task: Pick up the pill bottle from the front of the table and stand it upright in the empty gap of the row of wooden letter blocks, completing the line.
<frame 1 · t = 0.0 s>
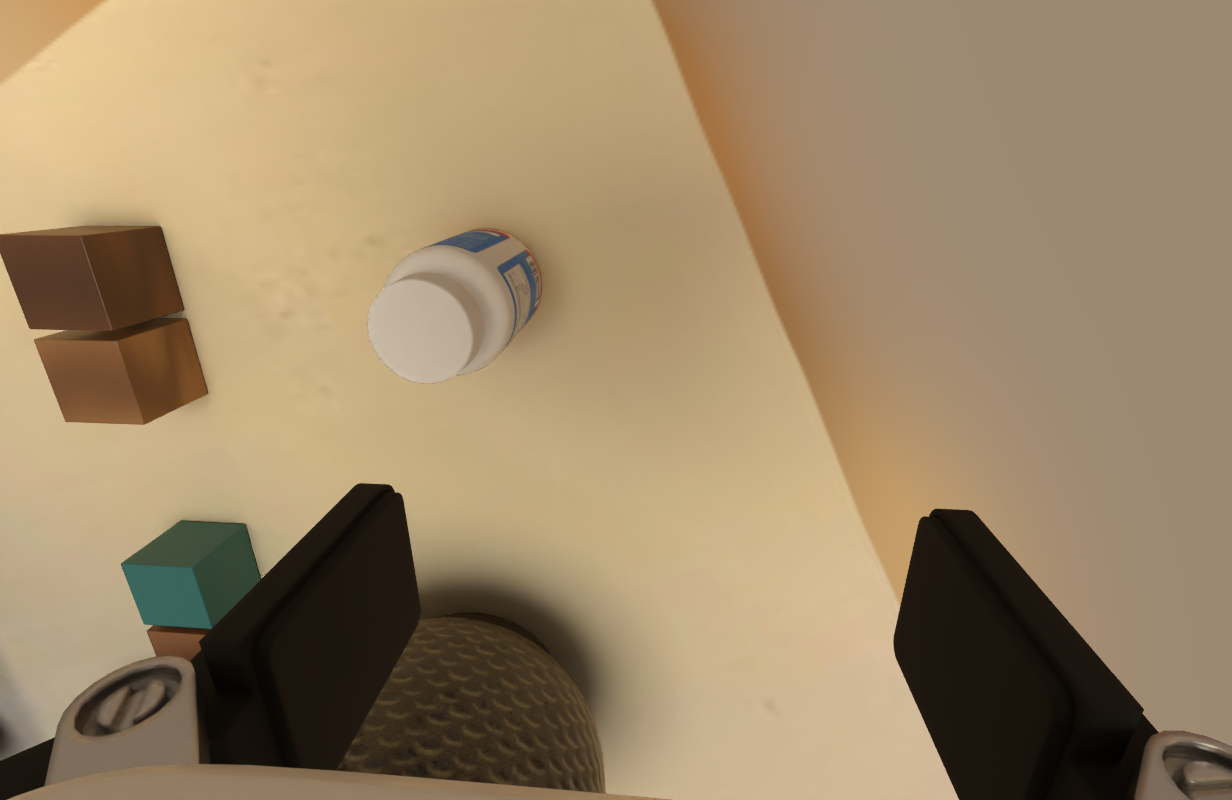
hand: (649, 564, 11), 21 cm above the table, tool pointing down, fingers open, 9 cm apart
block c: (221, 551, 39), on the table
block b: (161, 356, 34), on the table
block a: (134, 268, 32), on the table
planter: (484, 669, 41), on the table
pill bottle: (494, 281, 31), on the table
block d: (240, 610, 41), on the table
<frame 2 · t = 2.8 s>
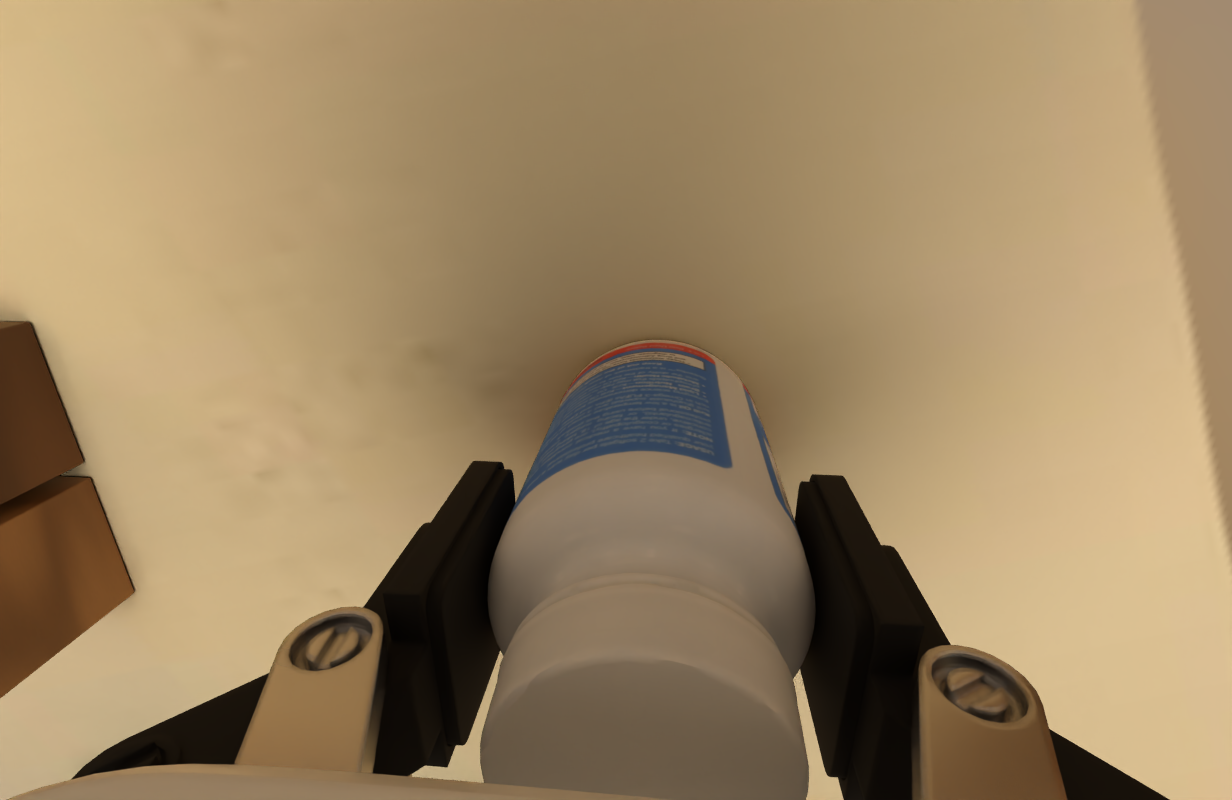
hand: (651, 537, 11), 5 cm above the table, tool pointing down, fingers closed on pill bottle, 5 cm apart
block b: (51, 533, 19), on the table
pill bottle: (658, 428, 16), on the table, touching gripper
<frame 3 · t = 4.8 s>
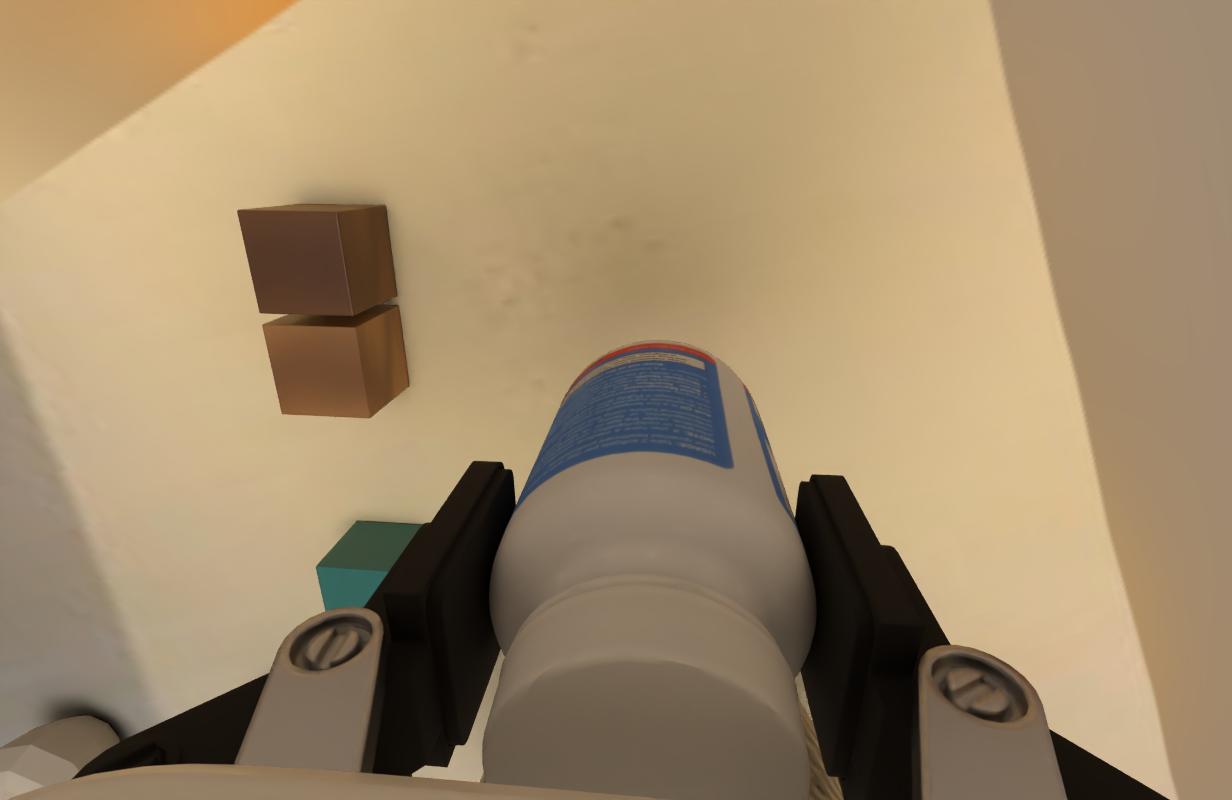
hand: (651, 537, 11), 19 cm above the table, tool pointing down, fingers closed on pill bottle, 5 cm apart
block c: (396, 553, 37), on the table
block b: (364, 345, 32), on the table
block a: (349, 250, 30), on the table
planter: (663, 681, 39), on the table
white pillar candle: (99, 730, 46), on the table
pill bottle: (659, 429, 16), point 14 cm above the table, touching gripper
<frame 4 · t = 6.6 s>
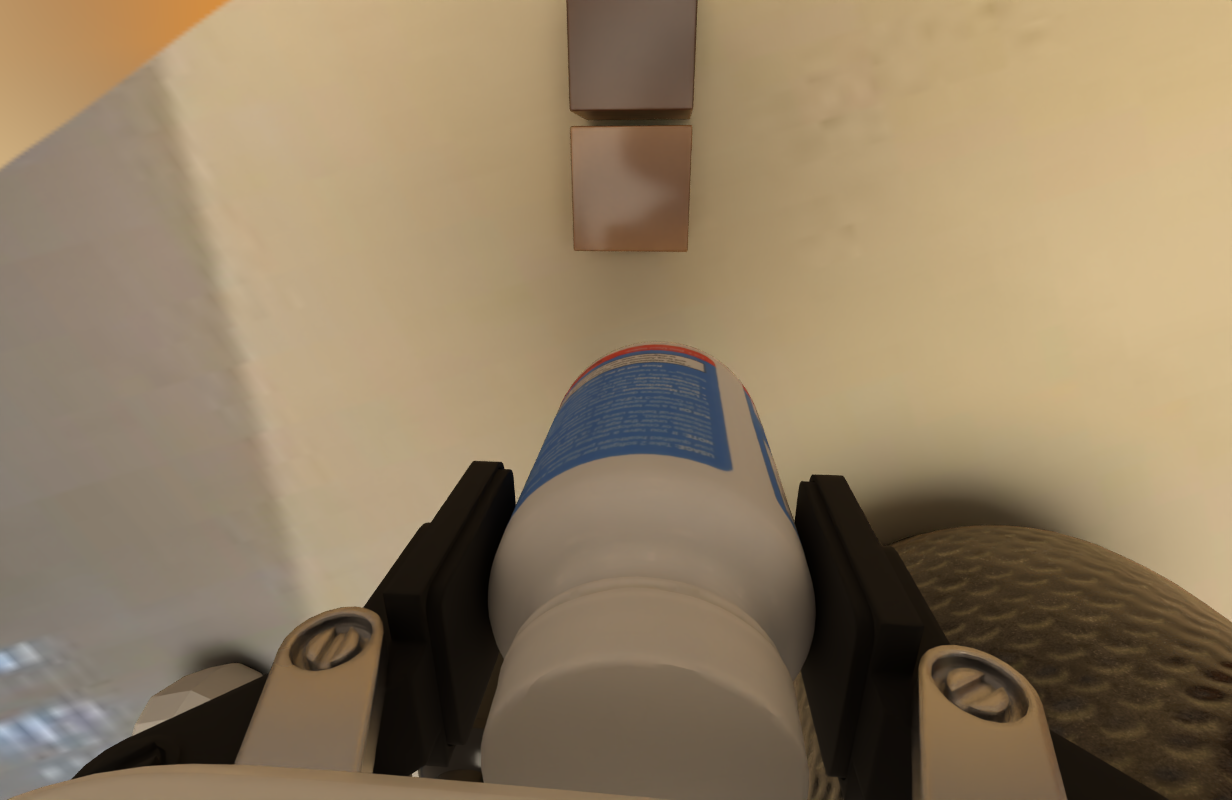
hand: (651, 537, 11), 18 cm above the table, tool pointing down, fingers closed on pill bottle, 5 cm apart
block b: (637, 187, 26), on the table
block a: (638, 60, 25), on the table
planter: (931, 606, 33), on the table
white pillar candle: (247, 681, 41), on the table
pill bottle: (658, 430, 16), point 13 cm above the table, touching gripper
supplement bottle: (523, 645, 37), on the table
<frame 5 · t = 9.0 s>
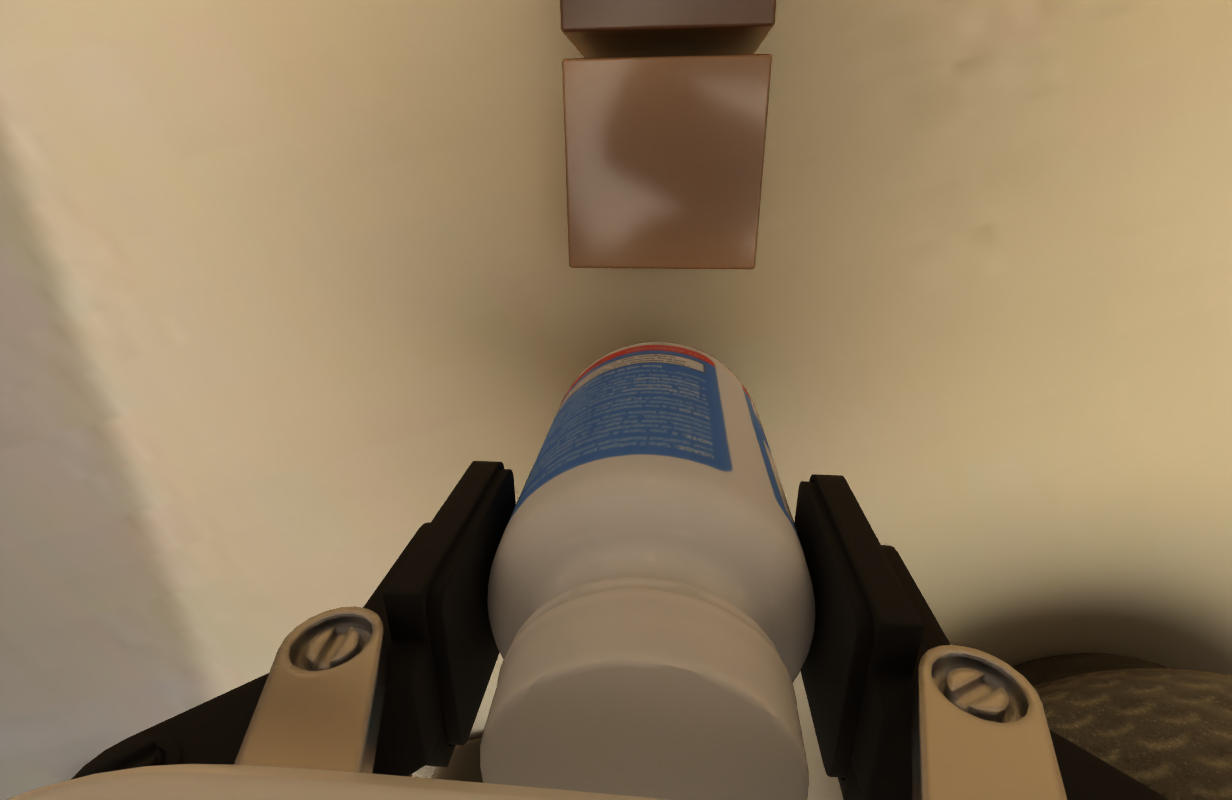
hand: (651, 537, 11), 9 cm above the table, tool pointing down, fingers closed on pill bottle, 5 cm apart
block b: (665, 168, 18), on the table
planter: (1060, 744, 24), on the table
pill bottle: (658, 430, 16), point 4 cm above the table, touching gripper
supplement bottle: (507, 777, 28), on the table
when the fingers open (5 cm above the table, at t = 10.6 s): pill bottle stays where it is, on the table.
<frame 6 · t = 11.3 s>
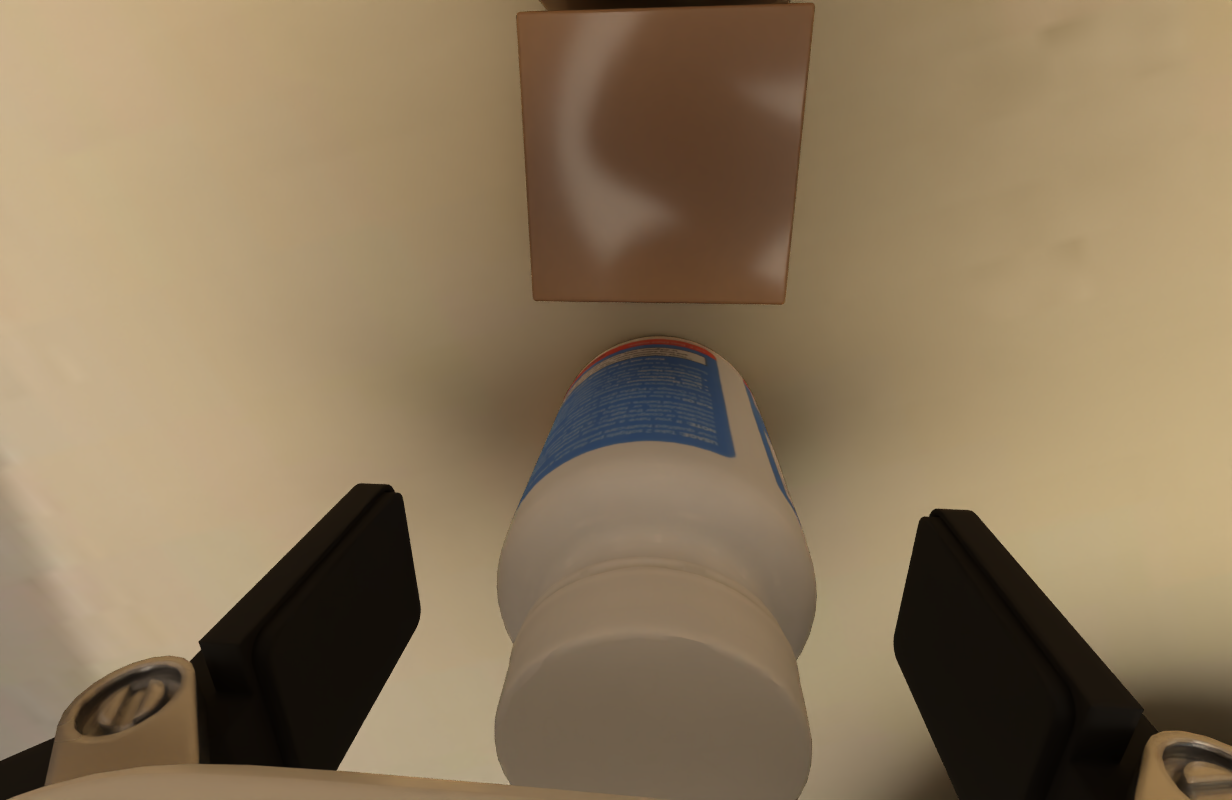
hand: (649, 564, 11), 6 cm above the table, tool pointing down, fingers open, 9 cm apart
block b: (664, 167, 14), on the table
pill bottle: (660, 424, 16), on the table
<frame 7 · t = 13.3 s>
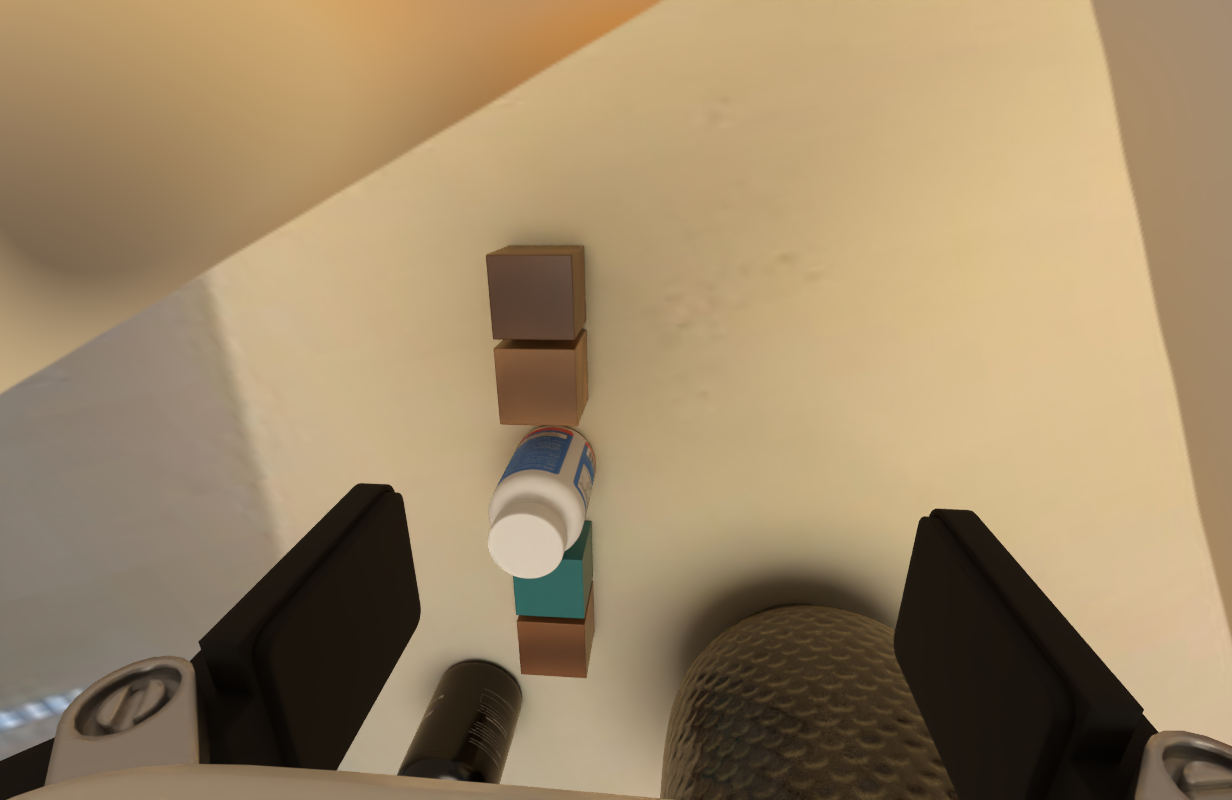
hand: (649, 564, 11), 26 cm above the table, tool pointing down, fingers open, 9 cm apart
block c: (560, 547, 41), on the table
block b: (551, 364, 37), on the table
block a: (547, 284, 35), on the table
planter: (793, 658, 43), on the table
pill bottle: (557, 459, 39), on the table
supplement bottle: (482, 689, 47), on the table
block d: (563, 604, 43), on the table
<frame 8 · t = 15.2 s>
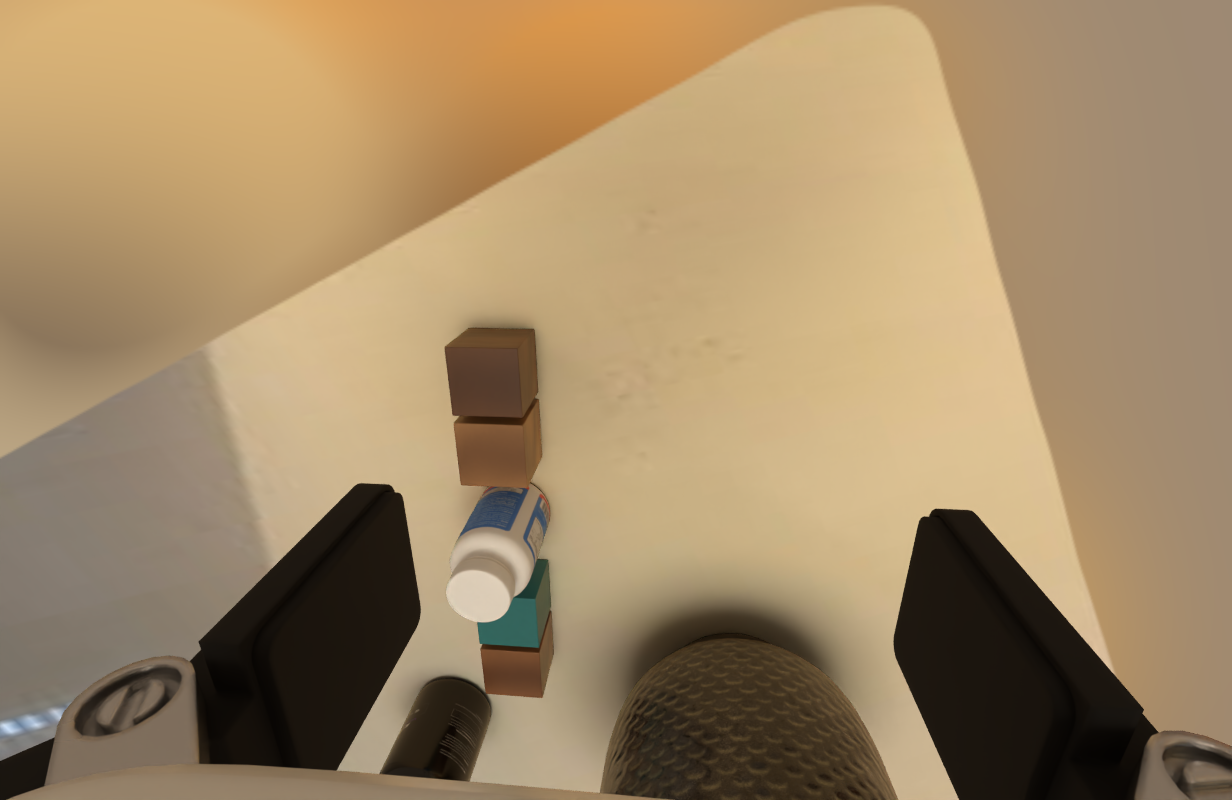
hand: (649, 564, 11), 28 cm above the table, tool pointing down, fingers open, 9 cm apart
block c: (521, 581, 47), on the table
block b: (509, 427, 42), on the table
block a: (504, 360, 40), on the table
planter: (730, 679, 49), on the table
pill bottle: (517, 506, 44), on the table
supplement bottle: (456, 702, 53), on the table
block d: (525, 630, 49), on the table
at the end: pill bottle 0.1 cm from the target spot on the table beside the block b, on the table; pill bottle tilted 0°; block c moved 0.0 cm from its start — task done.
